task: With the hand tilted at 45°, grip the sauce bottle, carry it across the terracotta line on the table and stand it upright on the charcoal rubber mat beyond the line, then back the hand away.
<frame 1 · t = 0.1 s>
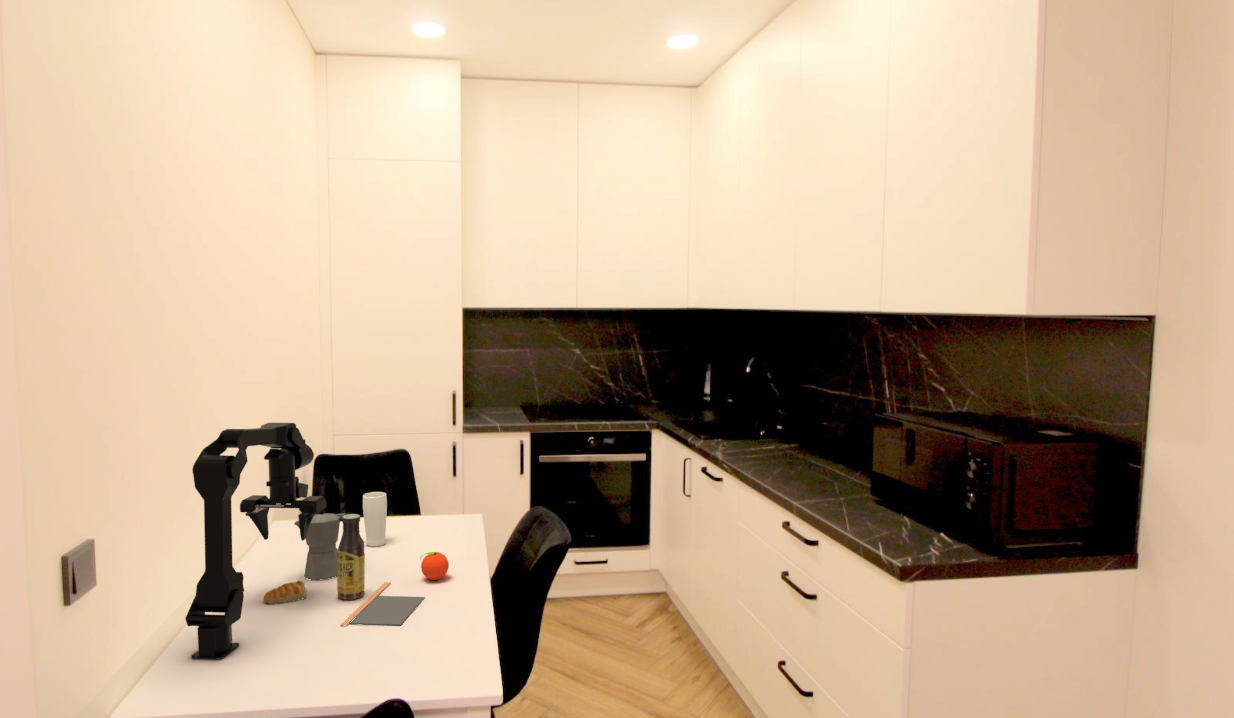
hand: (284, 539, 182), 15 cm above the table, tool pointing down, fingers open, 9 cm apart
sauce bottle: (351, 597, 184), on the table
terracotta line: (367, 603, 180), on the table
coffeepot: (327, 574, 200), on the table
pastry: (288, 600, 183), on the table
charcoal mat: (388, 610, 175), on the table
drinking glass: (376, 545, 225), on the table
clementine: (433, 579, 196), on the table
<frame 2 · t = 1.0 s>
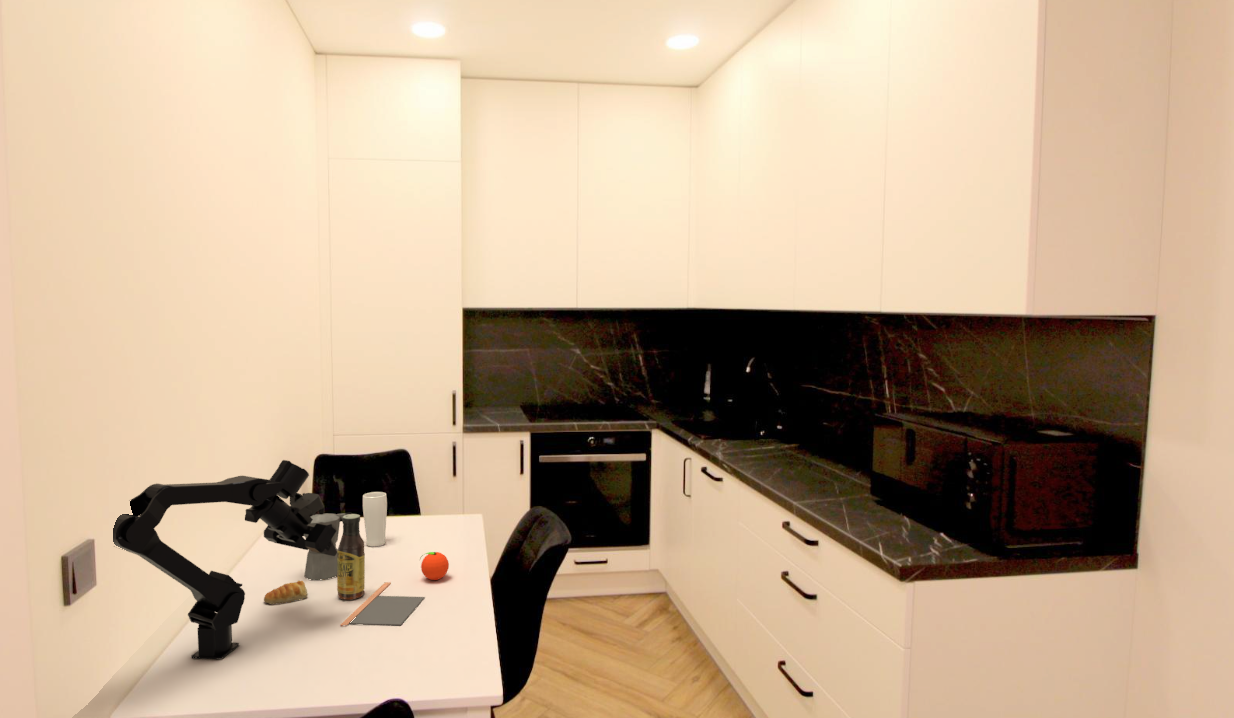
hand: (322, 551, 177), 13 cm above the table, tool tilted 45°, fingers open, 9 cm apart
nothing on the table moved.
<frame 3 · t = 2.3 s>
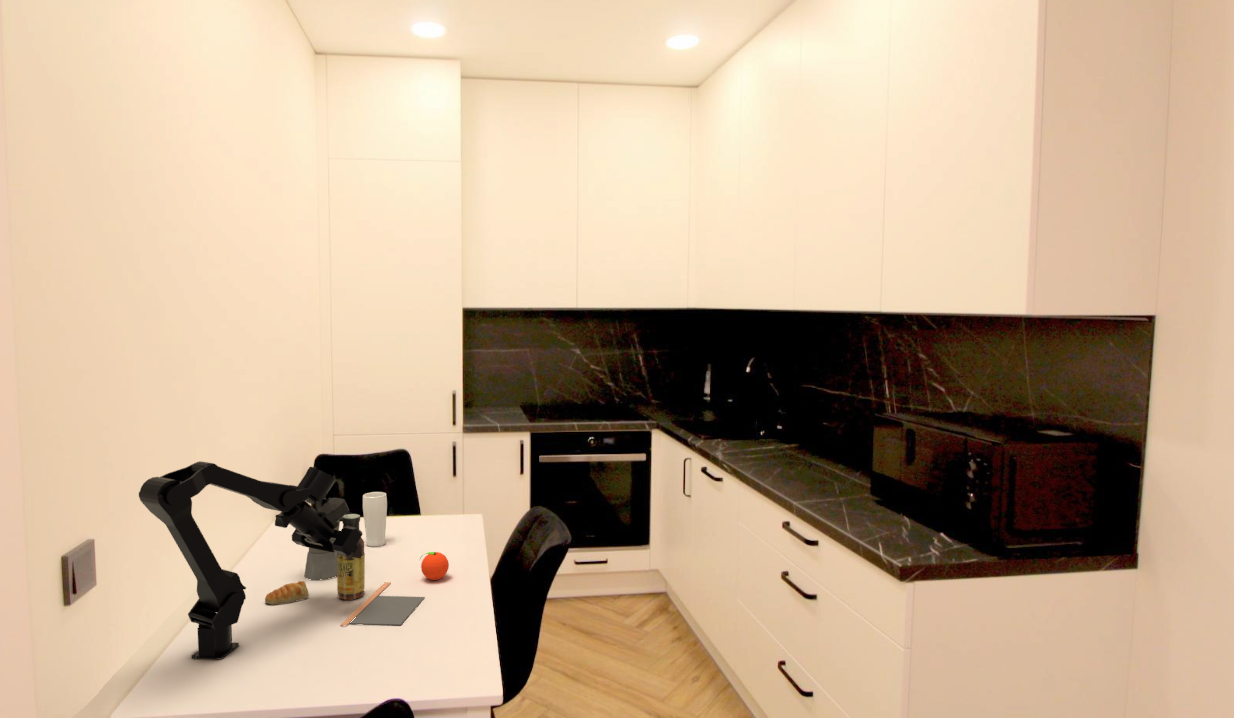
hand: (347, 553, 183), 11 cm above the table, tool tilted 45°, fingers open, 9 cm apart
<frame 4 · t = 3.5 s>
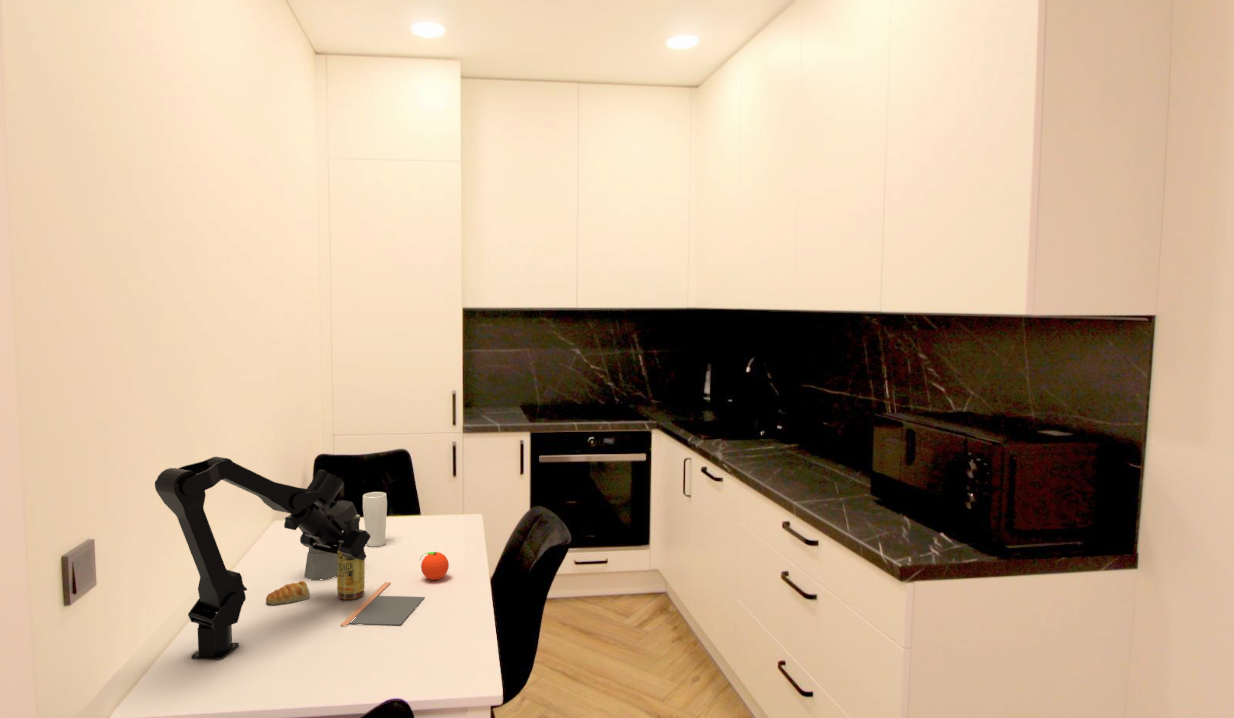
hand: (355, 556, 185), 10 cm above the table, tool tilted 45°, fingers open, 6 cm apart
sauce bottle: (351, 597, 184), on the table, touching gripper
everything else where it was.
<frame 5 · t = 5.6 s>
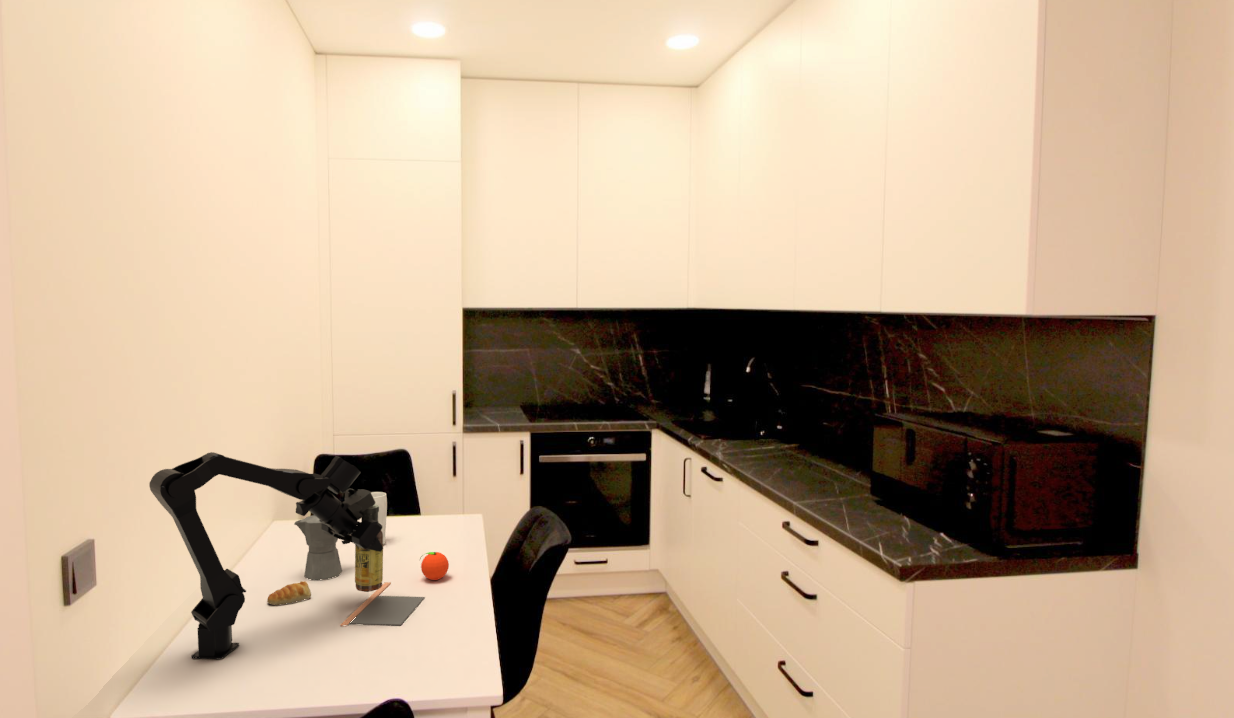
hand: (374, 547, 180), 13 cm above the table, tool tilted 45°, fingers closed on sauce bottle, 6 cm apart
sauce bottle: (369, 589, 180), point 3 cm above the table, touching gripper
when the fingers open (11 cm above the table, at t = 7.5 s): sauce bottle drops 1 cm, resting on charcoal mat.
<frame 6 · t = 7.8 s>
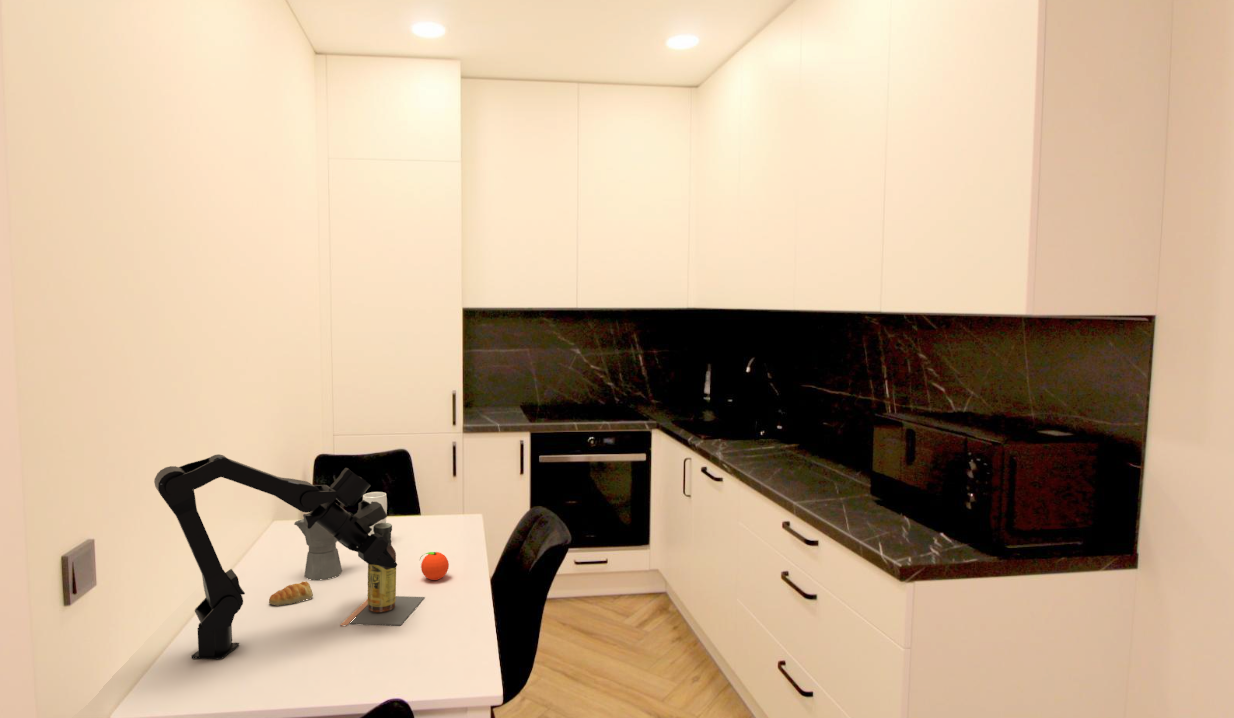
hand: (388, 561, 176), 11 cm above the table, tool tilted 45°, fingers open, 9 cm apart
sauce bottle: (382, 609, 176), resting on charcoal mat
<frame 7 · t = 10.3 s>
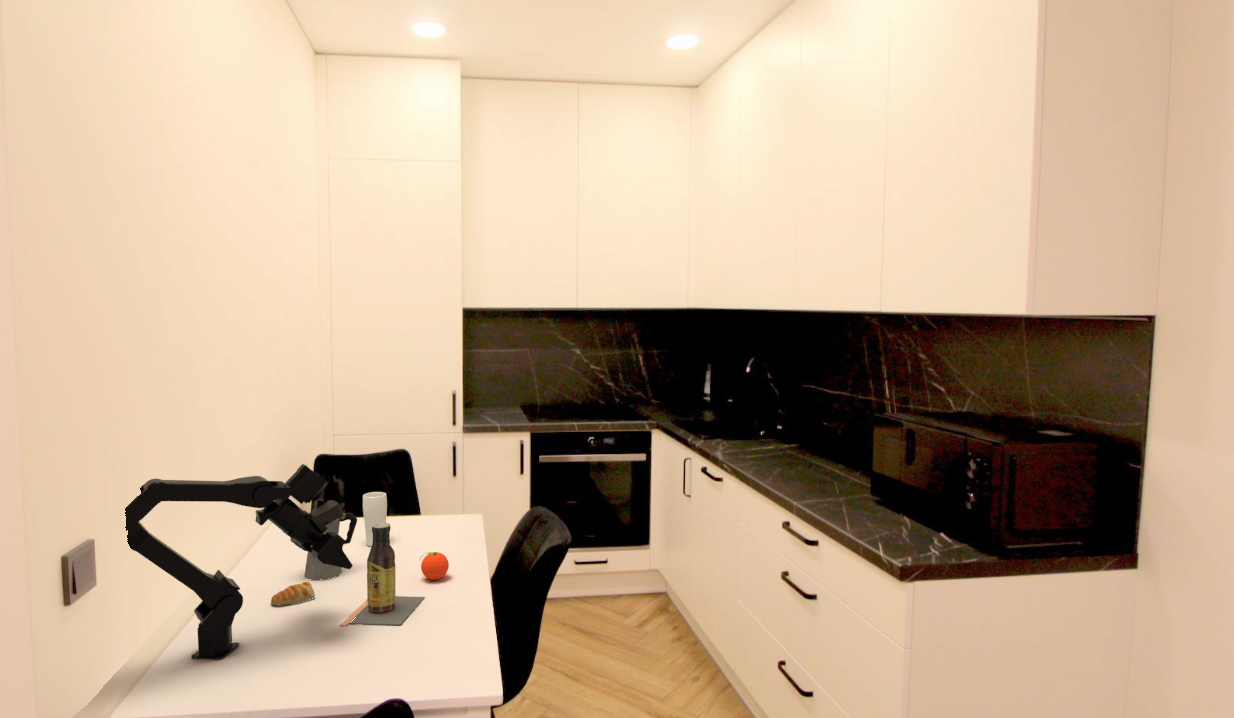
hand: (343, 562, 170), 13 cm above the table, tool tilted 40°, fingers open, 9 cm apart
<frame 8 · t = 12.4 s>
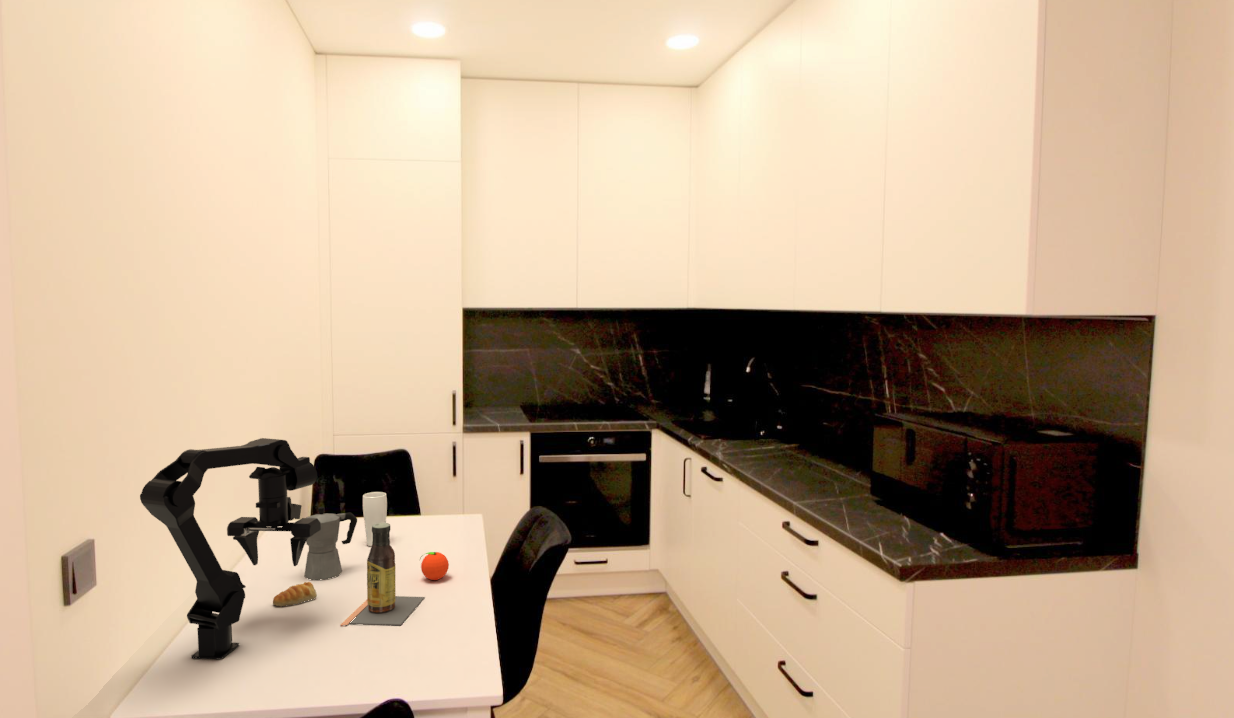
hand: (275, 565, 168), 13 cm above the table, tool pointing down, fingers open, 9 cm apart
at the end: sauce bottle inside the target area (2.4 cm from its centre), resting on charcoal mat; sauce bottle tilted 0°; the gripper is holding nothing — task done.
